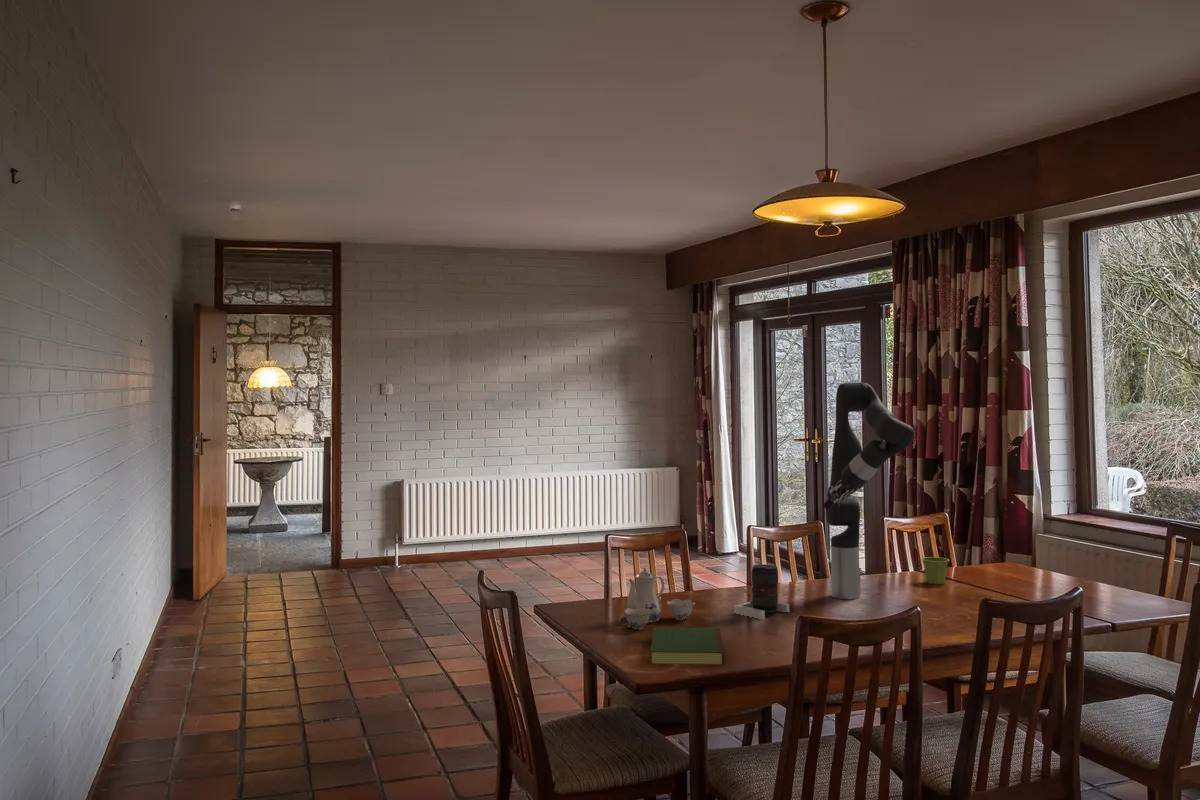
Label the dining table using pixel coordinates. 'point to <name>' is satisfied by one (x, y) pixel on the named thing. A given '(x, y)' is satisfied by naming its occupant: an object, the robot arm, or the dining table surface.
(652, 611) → the chinaware
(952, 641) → the dining table surface
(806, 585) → the dining table surface
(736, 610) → the mount cradle
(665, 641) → the hardcover book
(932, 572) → the plant pot
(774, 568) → the camera lens
